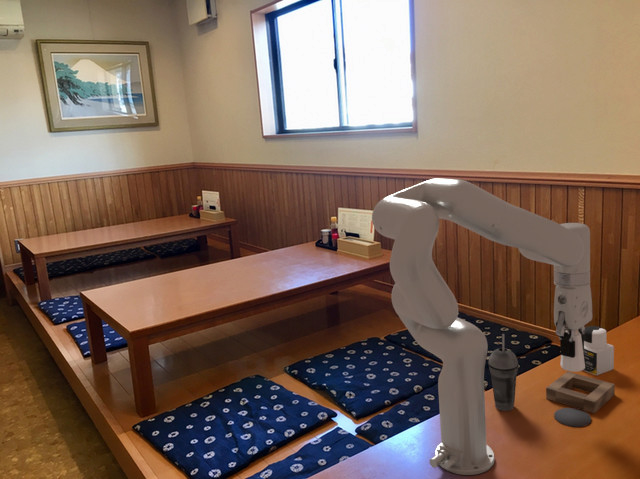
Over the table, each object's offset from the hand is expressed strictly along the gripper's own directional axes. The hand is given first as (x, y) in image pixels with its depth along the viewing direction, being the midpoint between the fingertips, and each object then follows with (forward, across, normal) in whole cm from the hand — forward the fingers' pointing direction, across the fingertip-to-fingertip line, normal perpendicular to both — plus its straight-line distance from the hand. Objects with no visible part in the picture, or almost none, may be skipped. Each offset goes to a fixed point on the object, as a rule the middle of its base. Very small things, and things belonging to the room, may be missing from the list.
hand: (572, 352), depth 128 cm
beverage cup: (+17, -5, +15) cm, 23 cm away
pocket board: (+17, +11, +3) cm, 20 cm away
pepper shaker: (+4, 0, 0) cm, 4 cm away
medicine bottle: (+17, +29, +7) cm, 34 cm away
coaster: (+17, 0, 0) cm, 17 cm away
